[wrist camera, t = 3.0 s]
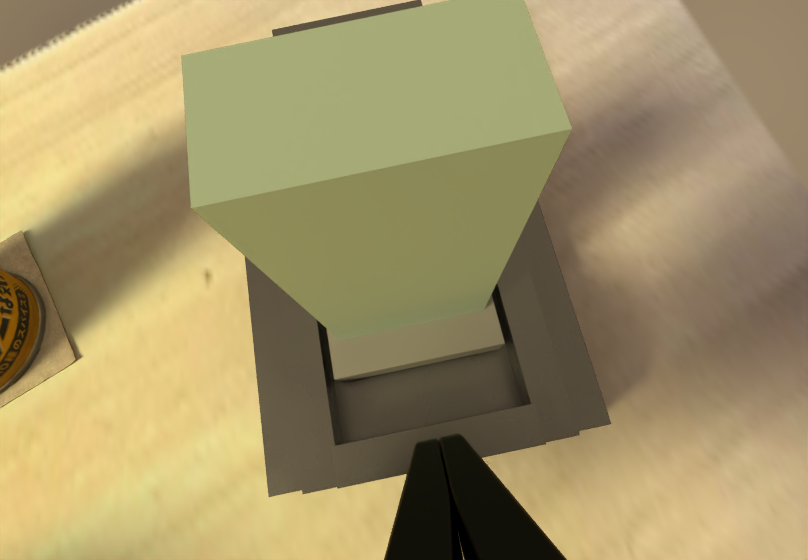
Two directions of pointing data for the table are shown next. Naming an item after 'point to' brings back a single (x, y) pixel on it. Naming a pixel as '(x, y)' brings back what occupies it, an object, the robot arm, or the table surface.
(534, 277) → the rail
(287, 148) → the fader tab
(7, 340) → the condiment
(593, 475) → the table surface
